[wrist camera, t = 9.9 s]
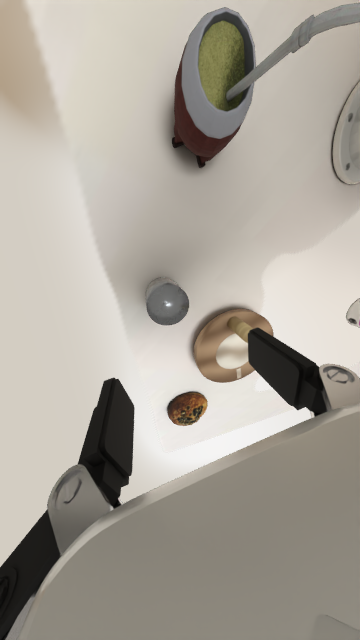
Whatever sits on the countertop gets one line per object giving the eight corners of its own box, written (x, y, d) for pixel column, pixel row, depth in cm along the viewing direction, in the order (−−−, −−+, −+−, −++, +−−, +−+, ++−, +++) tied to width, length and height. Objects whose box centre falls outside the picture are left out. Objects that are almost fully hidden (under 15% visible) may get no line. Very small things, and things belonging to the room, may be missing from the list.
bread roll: (170, 391, 37) (176, 411, 33) (208, 385, 41) (218, 402, 37) (162, 419, 41) (167, 440, 37) (197, 411, 46) (205, 428, 42)
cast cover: (156, 270, 24) (159, 276, 19) (186, 288, 27) (196, 297, 21) (139, 301, 26) (139, 315, 21) (169, 316, 28) (175, 331, 23)
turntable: (185, 326, 28) (197, 347, 22) (266, 297, 29) (300, 310, 23) (202, 385, 36) (214, 414, 29) (266, 360, 37) (290, 382, 31)
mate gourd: (158, 103, 17) (212, -413, 4) (220, 79, 17) (473, -475, 4) (180, 184, 20) (249, 64, 7) (232, 163, 21) (389, 10, 8)
